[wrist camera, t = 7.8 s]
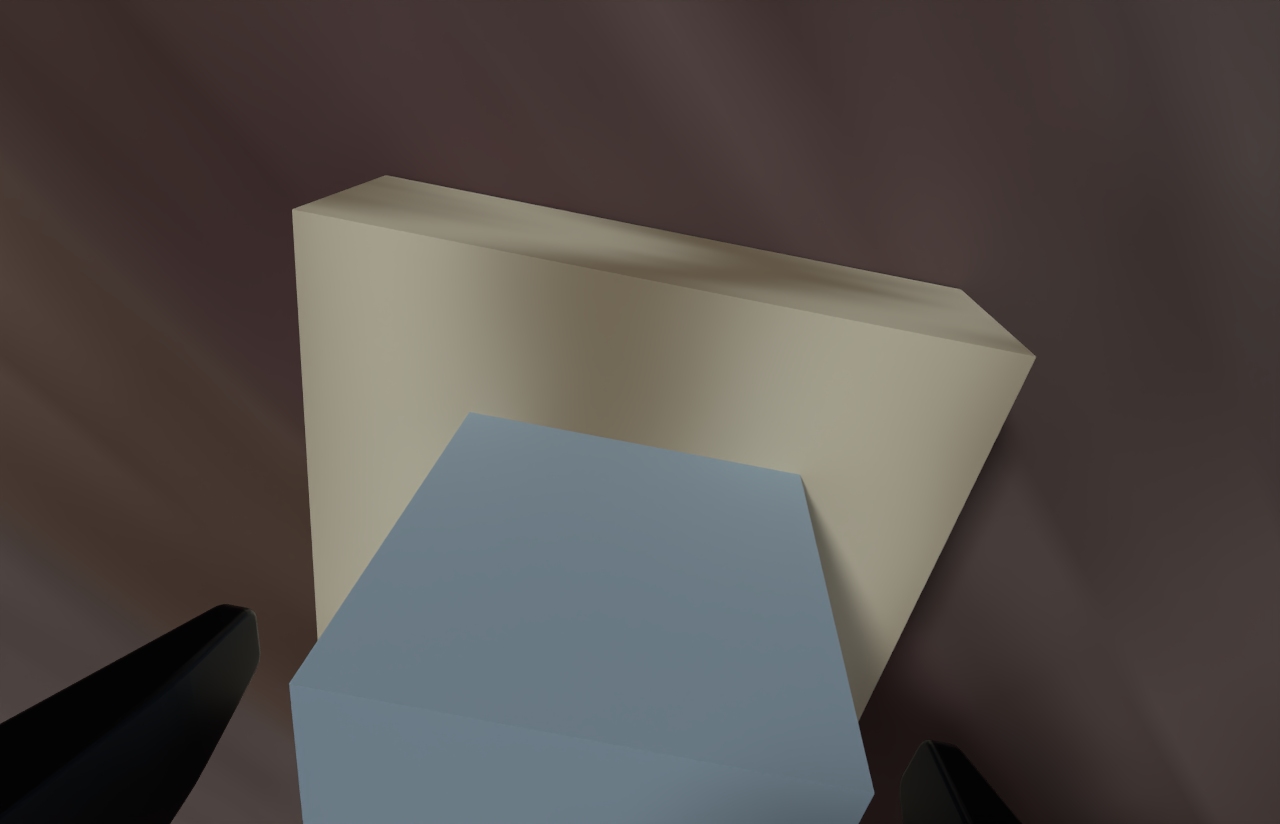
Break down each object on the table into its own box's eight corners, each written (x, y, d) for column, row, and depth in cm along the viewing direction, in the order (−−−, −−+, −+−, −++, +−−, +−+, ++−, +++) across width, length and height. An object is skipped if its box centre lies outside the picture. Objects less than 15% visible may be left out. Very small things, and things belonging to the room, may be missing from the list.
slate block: (800, 474, 10) (874, 793, 6) (724, 701, 13) (735, 1053, 8) (469, 412, 10) (288, 683, 6) (454, 651, 12) (318, 976, 8)
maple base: (960, 289, 12) (1036, 356, 9) (796, 688, 16) (815, 810, 14) (385, 175, 12) (292, 209, 9) (384, 608, 16) (322, 715, 14)
